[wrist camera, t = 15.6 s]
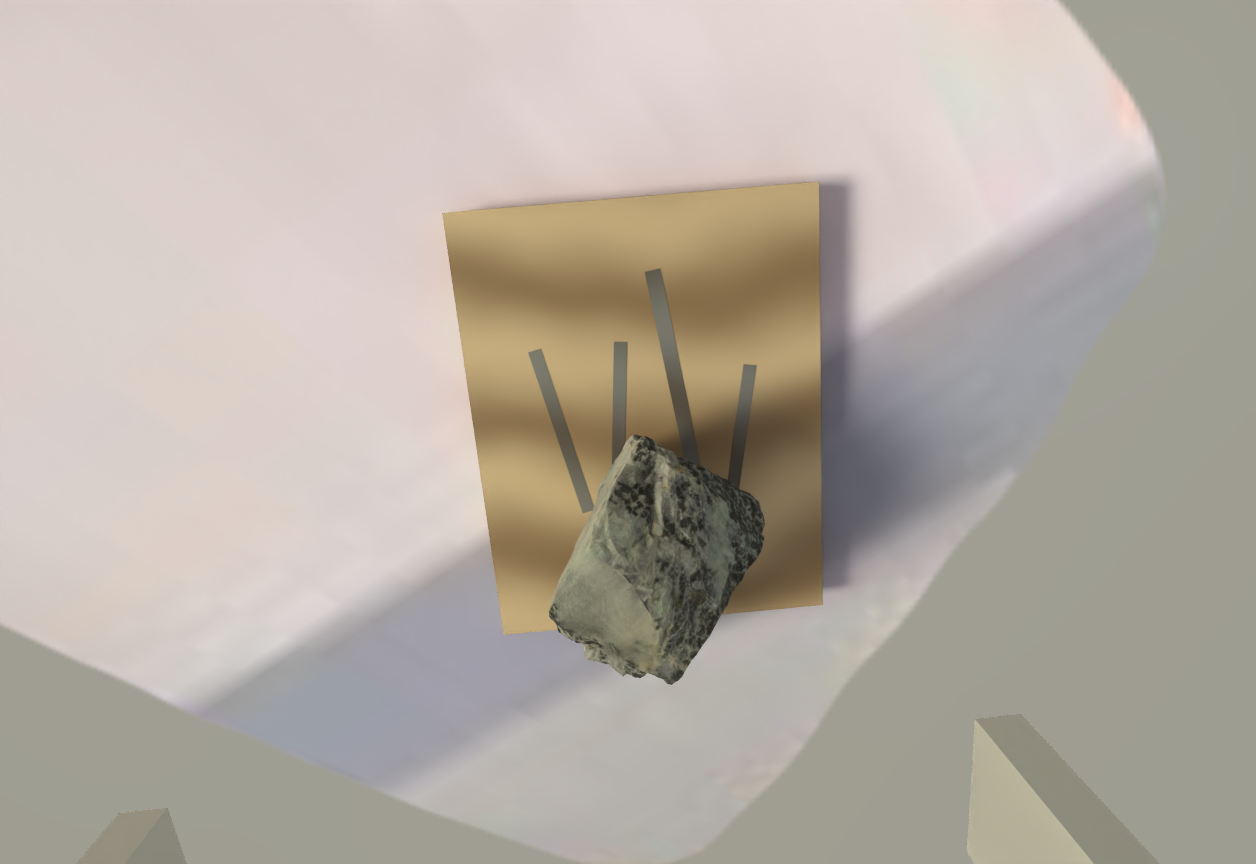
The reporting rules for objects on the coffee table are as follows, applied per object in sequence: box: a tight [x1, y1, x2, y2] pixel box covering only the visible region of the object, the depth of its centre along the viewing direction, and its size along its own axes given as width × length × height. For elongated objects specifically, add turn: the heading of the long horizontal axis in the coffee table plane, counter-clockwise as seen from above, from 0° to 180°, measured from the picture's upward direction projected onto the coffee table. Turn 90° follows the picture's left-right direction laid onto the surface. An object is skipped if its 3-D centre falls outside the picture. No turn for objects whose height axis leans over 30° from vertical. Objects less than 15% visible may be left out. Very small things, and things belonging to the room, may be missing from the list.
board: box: [442, 182, 823, 635], centre depth 31 cm, size 20×16×2 cm
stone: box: [549, 435, 765, 685], centre depth 28 cm, size 10×10×10 cm
